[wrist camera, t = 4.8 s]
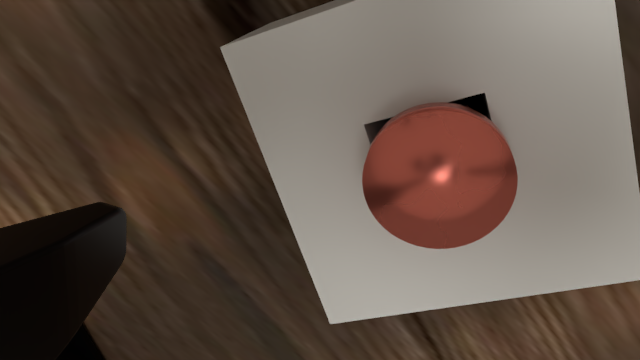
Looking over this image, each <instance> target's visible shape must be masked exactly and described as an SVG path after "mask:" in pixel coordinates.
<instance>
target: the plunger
mask: <svg viewBox="0 0 640 360" xmlns="http://www.w3.org/2000/svg"><path fill="white" fill-rule="evenodd" d="M517 184H518V175H517V168H516V164H515V161H514V157H513V155H512V152H511V149H510V146H509V144H508V142H507V140H506V138H505V137H504V135H503V134H502V132H501V131H500V129H499V128H498V127H497V126H496V125H495V124H494V123H493V122H492V121H491V120H490V119H488V118H487V117H486V116H484V115H483V114H481V113H480V112H478V111H476V110H474V109H471V108H469V107H468V105H467V104H466V102H465V101H464V100H463V99H458V100H455V101H451V102H447V103H446V102H434V103H426V104H421V105H417V106H414V107H411V108H409V109H406V110H404V111H402V112H400V113H399V114H397V115H396V116H394V117H393V118H391V119H390V120H389V121H388V122H387V123H386V124H385V125H384V126H383V127H382V128H381V129H380V130H379V132H378V133H377V134H376V136H375V137H374V139H373V141H372V143H371V145H370V148H369V151H368V154H367V157H366V160H365V164H364V168H363V174H362V186H363V193H364V197H365V200H366V203H367V205H368V207H369V209H370V211H371V213H372V214H373V216H374V217H375V219H376V220H377V221H378V222H379V223H380V224H381V225H382V227H383V228H384V229H386V230H387V231H388V232H389V233H391V234H392V235H394V236H395V237H397V238H399V239H400V240H403V241H405V242H407V243H409V244H412V245H415V246H419V247H424V248H431V249H448V248H456V247H460V246H464V245H467V244H470V243H473V242H475V241H477V240H479V239H481V238H483V237H484V236H486V235H487V234H489V233H490V232H492V231H493V230H494V229H495V228H496V227H497V226H498V225H499V224H500V223H501V222H502V221H503V220H504V218H505V217H506V215H507V214H508V212H509V211H510V209H511V207H512V205H513V202H514V199H515V196H516V191H517Z"/></svg>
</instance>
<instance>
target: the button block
mask: <svg viewBox="0 0 640 360" xmlns="http://www.w3.org/2000/svg"><path fill="white" fill-rule="evenodd" d="M220 49H221V51H222V54H223V56H224V59H225V61H226V64H227V66H228V69H229V71H230V74H231V76H232V79H233V81H234V84H235V86H236V89H237V92H238V94H239V97H240V99H241V102H242V104H243V107H244V109H245V112H246V114H247V117H248V119H249V122H250V124H251V127H252V129H253V132H254V134H255V137H256V139H257V142H258V144H259V147H260V149H261V152H262V154H263V157H264V159H265V162H266V164H267V167H268V169H269V172H270V174H271V177H272V179H273V182H274V184H275V187H276V189H277V192H278V194H279V197H280V199H281V202H282V204H283V207H284V209H285V212H286V214H287V217H288V219H289V222H290V224H291V227H292V229H293V232H294V234H295V237H296V239H297V242H298V244H299V247H300V249H301V252H302V254H303V257H304V259H305V262H306V264H307V267H308V269H309V272H310V274H311V277H312V280H313V282H314V285H315V287H316V290H317V292H318V295H319V297H320V300H321V302H322V305H323V307H324V310H325V312H326V315H327V317H328V320H329V322H330V324H335V323H342V322H349V321H356V320H363V319H370V318H377V317H384V316H391V315H398V314H405V313H412V312H419V311H426V310H433V309H440V308H447V307H454V306H461V305H468V304H475V303H482V302H489V301H496V300H503V299H510V298H517V297H524V296H531V295H538V294H545V293H552V292H559V291H566V290H573V289H580V288H587V287H594V286H601V285H608V284H615V283H622V282H629V281H636V280H640V193H639V186H638V178H637V170H636V162H635V155H634V147H633V139H632V131H631V124H630V116H629V108H628V100H627V93H626V85H625V77H624V69H623V62H622V54H621V46H620V38H619V31H618V23H617V15H616V7H615V0H334V1H331V2H328V3H325V4H323V5H320V6H317V7H314V8H311V9H308V10H305V11H303V12H300V13H297V14H294V15H291V16H288V17H285V18H283V19H280V20H277V21H274V22H271V23H269V24H267V25H265V26H263V27H261V28H259V29H256V30H254V31H252V32H250V33H248V34H246V35H244V36H242V37H240V38H238V39H236V40H234V41H232V42H230V43H228V44H226V45H224V46H222V47H220ZM481 93H482V98H483V102H484V106H485V111H486V115H487V118H488V119H490V120H491V121H492V122H493V123H494V124H495V125H496V126H497V127H498V128H499V129H500V131H501V132H502V134H503V135H504V137H505V138H506V140H507V142H508V144H509V146H510V149H511V152H512V155H513V157H514V161H515V164H516V168H517V175H518V184H517V191H516V196H515V199H514V202H513V205H512V207H511V209H510V211H509V212H508V214H507V215H506V217H505V218H504V220H503V221H502V222H501V223H500V224H499V225H498V226H497V227H496V228H495V229H494V230H493V231H492V232H490V233H489V234H487V235H486V236H484V237H483V238H481V239H479V240H477V241H475V242H473V243H470V244H467V245H464V246H460V247H456V248H448V249H431V248H424V247H419V246H415V245H412V244H409V243H407V242H405V241H403V240H400V239H399V238H397V237H395V236H394V235H392V234H391V233H389V232H388V231H387V230H386V229H384V228H383V227H382V225H381V224H380V223H379V222H378V221H377V220H376V219H375V217H374V216H373V214H372V213H371V211H370V209H369V207H368V205H367V203H366V200H365V197H364V193H363V186H362V174H363V168H364V164H365V160H366V157H367V154H368V151H369V148H370V145H371V143H372V141H373V139H374V137H375V136H376V134H377V133H378V132H379V130H380V129H381V128H382V127H383V126H384V125H385V124H386V123H387V122H388V121H389V120H390V119H391V117H394V116H396V115H397V114H399V113H400V112H402V111H404V110H406V109H409V108H411V107H414V106H417V105H421V104H426V103H434V102H446V103H447V102H451V101H455V100H458V99H462V98H466V97H470V96H473V95H477V94H481Z"/></svg>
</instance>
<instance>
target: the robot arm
mask: <svg viewBox="0 0 640 360" xmlns="http://www.w3.org/2000/svg"><path fill="white" fill-rule="evenodd" d="M125 254H126V213H125V211H124V210H123V209H122V208H120V207H116V206H113V205H110V204H107V203H103V202H97V203H93V204H90V205H86V206H82V207H78V208H75V209H71V210H67V211H63V212H59V213H56V214H52V215H48V216H44V217H41V218H37V219H33V220H29V221H26V222H22V223H18V224H14V225H11V226H7V227H3V228H0V360H103V359H102V357H101V356H100V354H99V352H98V351H97V349H96V347H95V346H94V344H93V343H92V341H91V339H90V338H89V336H88V334H87V333H86V331H85V329H84V328H83V326H82V323H83V322H84V320H85V319H86V317H87V316H88V314H89V313H90V311H91V310H92V308H93V307H94V305H95V304H96V302H97V301H98V299H99V298H100V296H101V295H102V293H103V292H104V290H105V289H106V287H107V285H108V284H109V282H110V281H111V279H112V278H113V276H114V275H115V273H116V272H117V270H118V269H119V267H120V266H121V264H122V262H123V260H124V257H125Z"/></svg>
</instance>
